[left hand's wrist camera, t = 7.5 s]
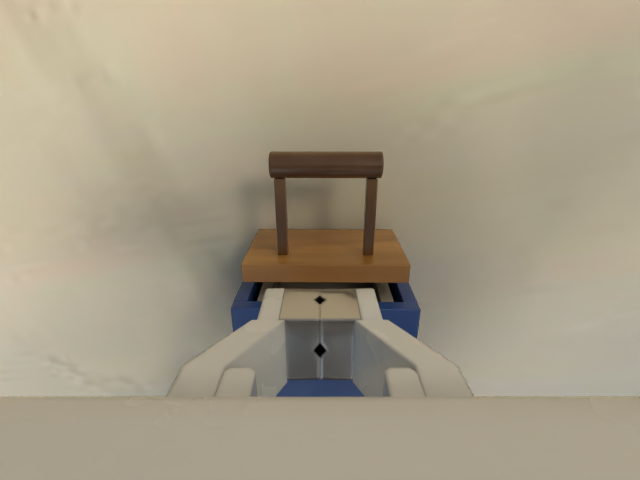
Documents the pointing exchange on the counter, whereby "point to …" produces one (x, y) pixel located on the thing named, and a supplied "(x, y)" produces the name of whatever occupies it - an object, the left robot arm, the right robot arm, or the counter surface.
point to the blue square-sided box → (397, 312)
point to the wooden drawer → (326, 234)
